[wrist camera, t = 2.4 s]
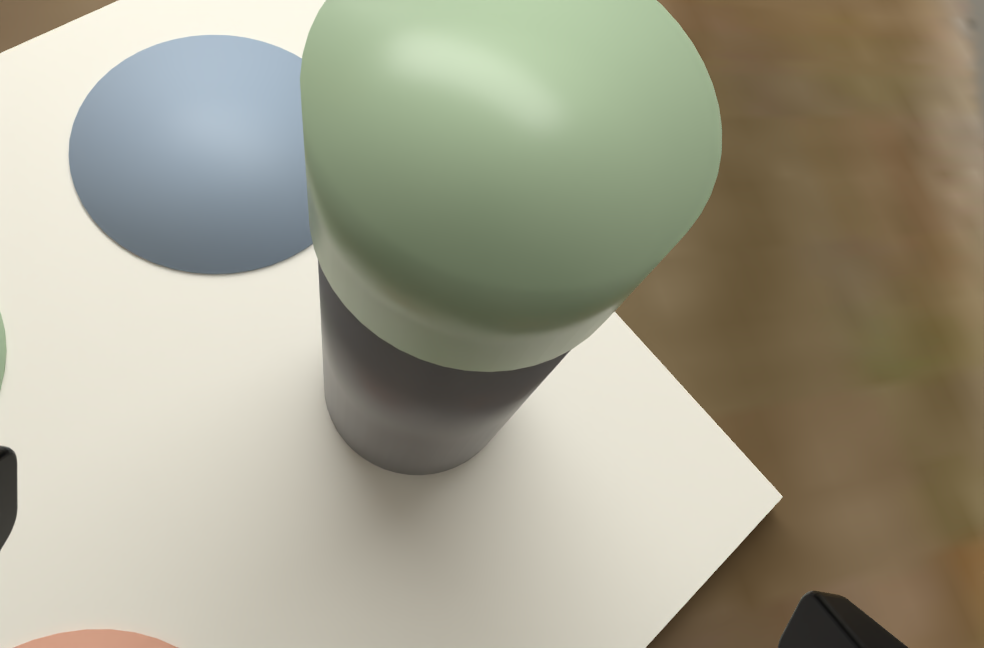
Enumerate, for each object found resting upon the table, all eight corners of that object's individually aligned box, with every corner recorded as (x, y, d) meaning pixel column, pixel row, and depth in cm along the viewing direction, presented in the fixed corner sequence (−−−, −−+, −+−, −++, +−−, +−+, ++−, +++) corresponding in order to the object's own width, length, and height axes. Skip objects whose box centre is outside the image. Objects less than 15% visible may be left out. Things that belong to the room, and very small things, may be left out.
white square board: (768, 500, 22) (784, 496, 21) (-51, 1391, 13) (-77, 1442, 13) (272, -48, 26) (270, -70, 25) (-632, 365, 17) (-681, 352, 16)
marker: (548, 397, 21) (800, 142, 10) (404, 520, 19) (504, 384, 8) (430, 261, 22) (533, -123, 11) (279, 367, 20) (206, 37, 9)
